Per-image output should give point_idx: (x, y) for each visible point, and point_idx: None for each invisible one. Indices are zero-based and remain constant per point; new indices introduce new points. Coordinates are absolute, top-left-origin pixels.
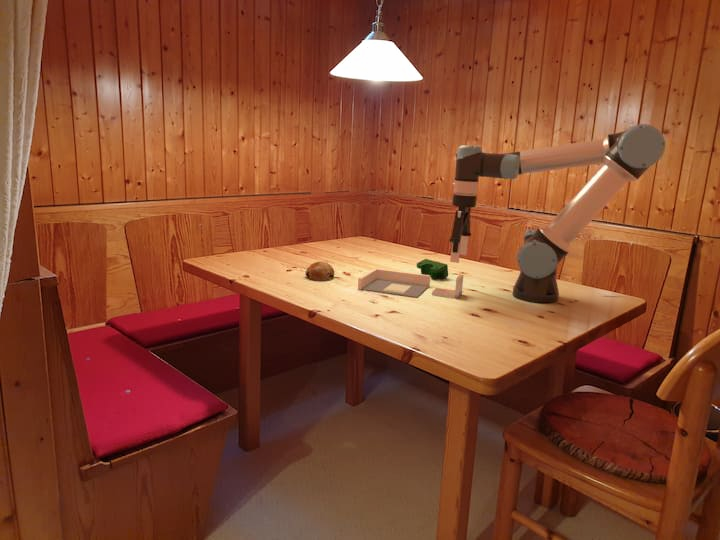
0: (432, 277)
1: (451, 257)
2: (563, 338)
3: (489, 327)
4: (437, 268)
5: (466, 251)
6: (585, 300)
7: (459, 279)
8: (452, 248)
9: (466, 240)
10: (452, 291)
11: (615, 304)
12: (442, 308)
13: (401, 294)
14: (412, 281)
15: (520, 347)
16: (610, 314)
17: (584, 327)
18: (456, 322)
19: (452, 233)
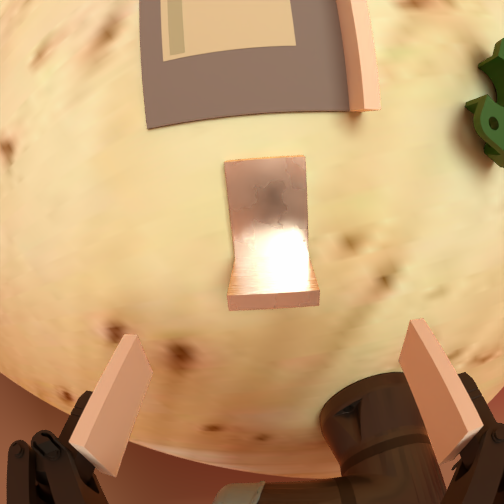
0: (469, 106)
1: (115, 358)
2: None
3: (75, 360)
4: (490, 128)
5: (406, 378)
6: None
7: (229, 306)
8: (92, 407)
9: (432, 436)
10: (285, 235)
11: None
12: (101, 249)
13: (142, 66)
14: (344, 36)
15: (49, 390)
16: (302, 474)
17: (202, 459)
18: (46, 304)
19: (8, 485)
